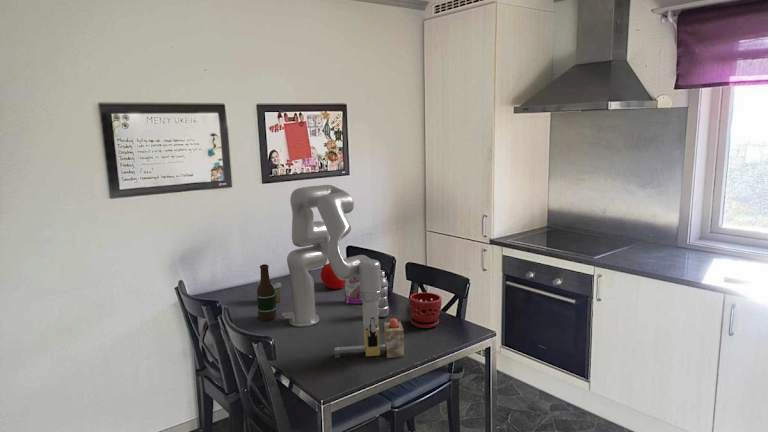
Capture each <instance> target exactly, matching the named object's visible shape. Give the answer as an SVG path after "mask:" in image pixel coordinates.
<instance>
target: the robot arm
mask: <svg viewBox="0 0 768 432" xmlns="http://www.w3.org/2000/svg"><path fill="white" fill-rule="evenodd" d="M289 199H290V207H291V213H292V214H291V215H292V216H291V217H292V220H291V240H292V242H291V243H292V244H293V245H294V246H295V247H297V248H296V249H294V250H292V251H290V252H289V253H288V255H287V256H286V263H287V266H288V271H289V277H290V290H291V311H289V312H282V313H281V318H284V320H288V319H289V324H290V325H291V326H293V327H310V326H313V325H315V324H317V323H318V322H319V321H320V316H319V315H318V314H316V304H315V303H316V298H315V282H314V281H315V280H314V278H313V276H312V275H311V274H310V273H309V271H311V270H314V269H318V268H321V267H322V268H323V266H324V265H325V264H328V263H330V265H331V268H332V270H333V272H334V274H335V275H336V277H337V278H338V279H340V280H348V279H351V278H355V277H359V280H360V300H361V301H363V304H362V323H363V329H364V328H365V329H367V328H368V332H369V336H368V347H376V346H377V334H376V328H378V327H379V317H378V301H379V300H381V271H382V270H381V269H382V268H381V263H380V261H379V260H377V259H373V258H370V257H368V256H367V255H365V254H358V255H354V256H349V257H346V258H343V256H342V254H341V251H340V248H339V247H340V241H341V240H343V239H344V238H345V237H346V236H348V235H349V234H350V232H351V231H352V226H351V224H350V221H349V220H348V217H347V215H346V214H350V213H352V211H354V208H355V203H354V199H353V198H352V196H351V194H349V193H348V192H347V191H344V190H343V189H341V188H339V187H336V186H334V185H332V184H320V185H310V186H309V185H308V186H304V187H298V188H295V189H294V190H293V191H292V192H291V194H290V198H289ZM315 208H317V210H318V212H319V215H320V216H321V220H322V221H321V220H316V221H314V217H315V215H314V212H313V210H312V209H315ZM369 326H371V327H369ZM370 329H371V331H370Z"/></svg>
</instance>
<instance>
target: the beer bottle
mask: <svg viewBox="0 0 768 432" xmlns="http://www.w3.org/2000/svg"><path fill="white" fill-rule="evenodd" d="M259 269H260V280H261V281H260V285H259V286H258V287H257V289H256V299H257V300H256V302H257V316H258V319H259V321H260V322H263V323H264V322H266V323H267V322H272V321H275V319H276V320H277V304H276V298H275V290H274V287H273V286H272V284H271V283H270V282H271V280H270V272H269V265H268V264H265V263H264V264H260V265H259Z"/></svg>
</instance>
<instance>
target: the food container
mask: <svg viewBox="0 0 768 432" xmlns="http://www.w3.org/2000/svg"><path fill="white" fill-rule="evenodd" d="M260 281H261V279H260V280H258V282H257V286H256V287H257V288H258V286H259V285H260ZM270 283H271V284H272V286H273V287H274V290H275V298H276V305H277V304H279V303H281V288H282V283H281V282H277V283H275V282H272V281H270Z"/></svg>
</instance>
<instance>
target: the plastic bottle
mask: <svg viewBox="0 0 768 432" xmlns="http://www.w3.org/2000/svg"><path fill="white" fill-rule="evenodd" d="M385 276H386V273H385V270H381V300H379V301H378V318H386V317H388V315H389V314H390V306H389V302H388V290H389V282H388V279H387V278H386V277H385Z"/></svg>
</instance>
